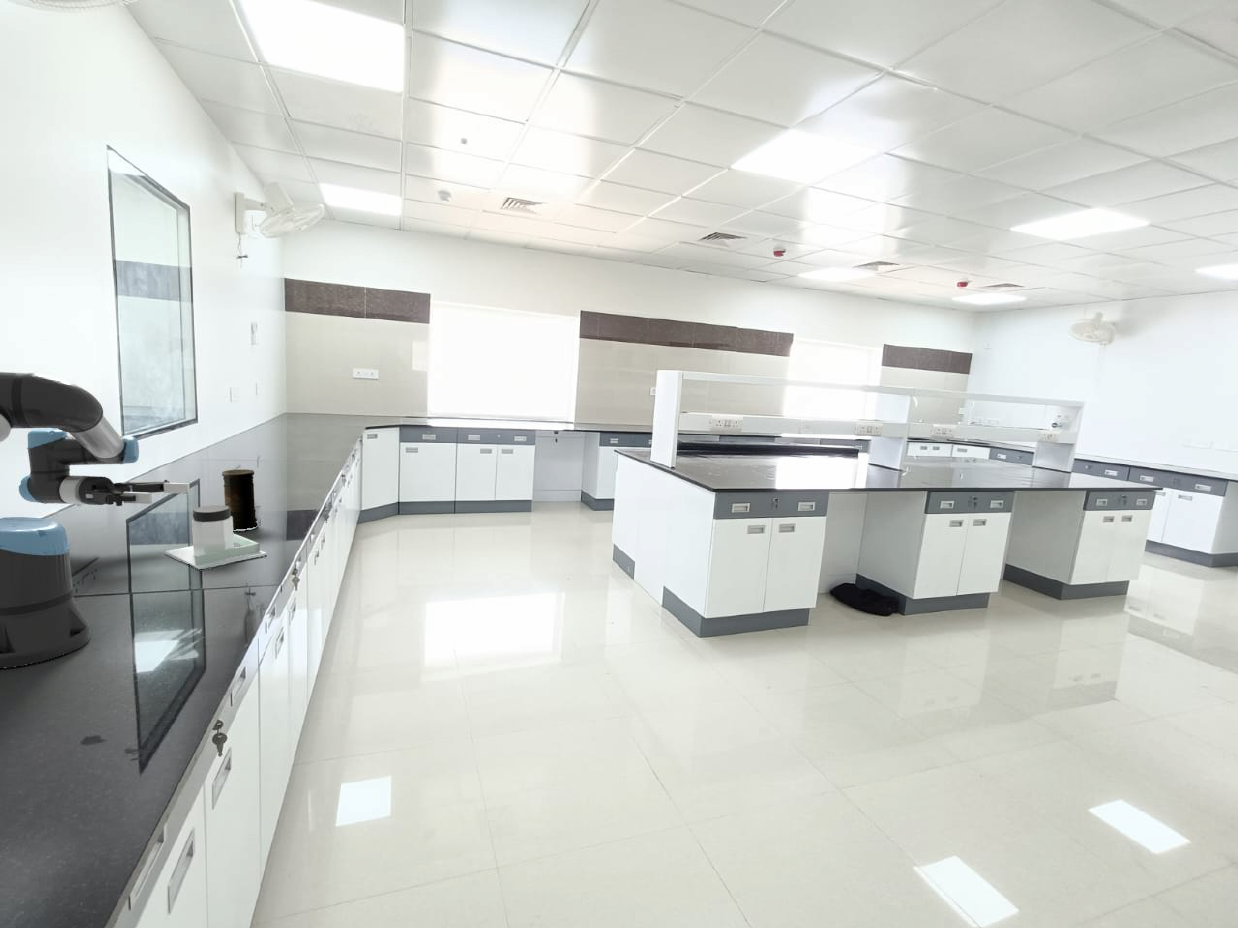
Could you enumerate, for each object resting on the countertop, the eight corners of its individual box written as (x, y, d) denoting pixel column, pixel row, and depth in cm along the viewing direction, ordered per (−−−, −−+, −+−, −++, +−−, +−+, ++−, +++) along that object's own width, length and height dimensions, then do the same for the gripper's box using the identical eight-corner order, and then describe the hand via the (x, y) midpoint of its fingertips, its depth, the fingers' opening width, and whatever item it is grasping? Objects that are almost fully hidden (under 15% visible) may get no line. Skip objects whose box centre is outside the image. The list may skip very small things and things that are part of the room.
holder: (266, 555, 160) (266, 544, 160) (199, 570, 147) (198, 558, 146) (231, 541, 171) (230, 531, 170) (165, 554, 158) (164, 543, 157)
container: (226, 525, 186) (223, 469, 183) (259, 523, 190) (256, 468, 187) (221, 533, 178) (217, 474, 175) (256, 531, 182) (253, 473, 179)
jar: (207, 547, 162) (205, 504, 160) (239, 547, 163) (237, 505, 161) (187, 557, 153) (184, 512, 151) (221, 557, 154) (218, 513, 152)
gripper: (128, 495, 169) (203, 497, 169) (45, 514, 144) (133, 517, 145) (126, 469, 168) (201, 472, 168) (42, 484, 143) (131, 487, 144)
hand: (170, 493), depth 157 cm, fingers open, 13 cm apart
